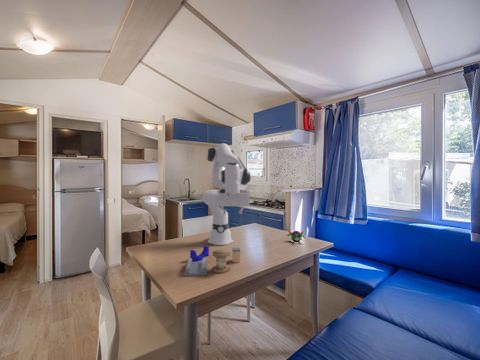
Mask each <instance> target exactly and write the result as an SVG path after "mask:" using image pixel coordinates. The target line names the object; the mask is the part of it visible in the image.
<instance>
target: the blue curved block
mask: <svg viewBox="0 0 480 360" xmlns="http://www.w3.org/2000/svg"><path fill="white" fill-rule="evenodd" d="M209 255H210V248H209V245H204V246H203V248H202V251H201V252H200V254H198V255H197V250H193V249H190V250H189V258H192V262H201V261H202V260H203V258H206V257H207V258H208V257H209Z"/></svg>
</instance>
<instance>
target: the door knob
mask: <svg viewBox="0 0 480 360" xmlns="http://www.w3.org/2000/svg"><path fill="white" fill-rule="evenodd" d="M230 255H231V252H230V250H228V249H217V250H214V251H213V252H212V257H215V259H216V263H215V264H216V265H214V266H212V272H214V273H216V274H225V273H228V272H230V270H231V268H230V266H229V265H228V264H227V257H230Z"/></svg>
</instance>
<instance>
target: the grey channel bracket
mask: <svg viewBox="0 0 480 360" xmlns="http://www.w3.org/2000/svg"><path fill="white" fill-rule="evenodd" d="M207 273H208V261H207V259H206V257H205V258H203V260H200V261H198V262H193V261H192V258H190V257H188V261H187V262H186V266H185V269H184V273H183V277H196V276H197V277H198V276H207Z"/></svg>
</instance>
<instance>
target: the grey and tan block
mask: <svg viewBox="0 0 480 360" xmlns="http://www.w3.org/2000/svg"><path fill="white" fill-rule="evenodd" d="M240 248H241V247H232V248H231V249H232V250H231V251H232V254H231V255H232V256H231V257H232V263H241V249H240Z"/></svg>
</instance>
